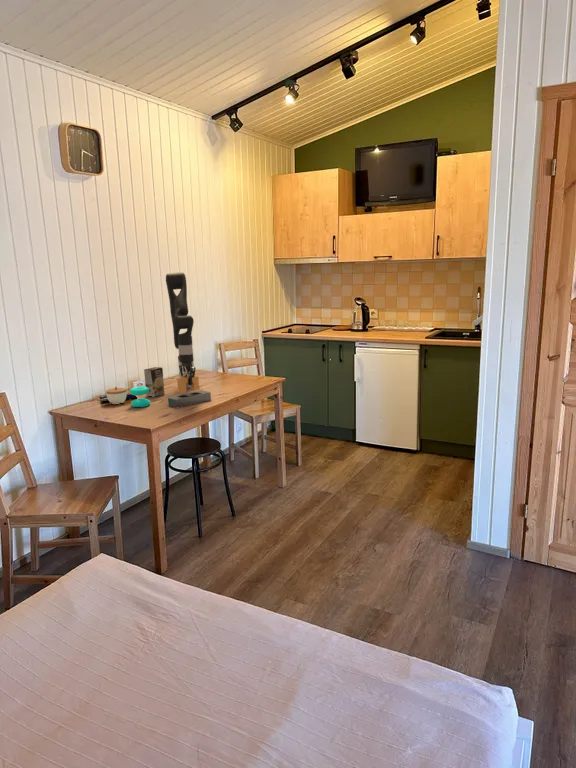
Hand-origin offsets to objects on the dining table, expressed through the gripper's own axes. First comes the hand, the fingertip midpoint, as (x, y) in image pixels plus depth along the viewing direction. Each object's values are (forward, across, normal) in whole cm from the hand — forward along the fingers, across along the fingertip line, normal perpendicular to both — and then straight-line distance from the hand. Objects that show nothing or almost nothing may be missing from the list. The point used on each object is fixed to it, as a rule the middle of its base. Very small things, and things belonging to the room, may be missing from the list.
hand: (188, 384), depth 292 cm
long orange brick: (+3, 0, 0) cm, 3 cm away
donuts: (+11, -16, -21) cm, 28 cm away
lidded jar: (+11, -32, -27) cm, 43 cm away
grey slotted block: (+10, 0, 0) cm, 10 cm away
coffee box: (+10, -33, -3) cm, 35 cm away
